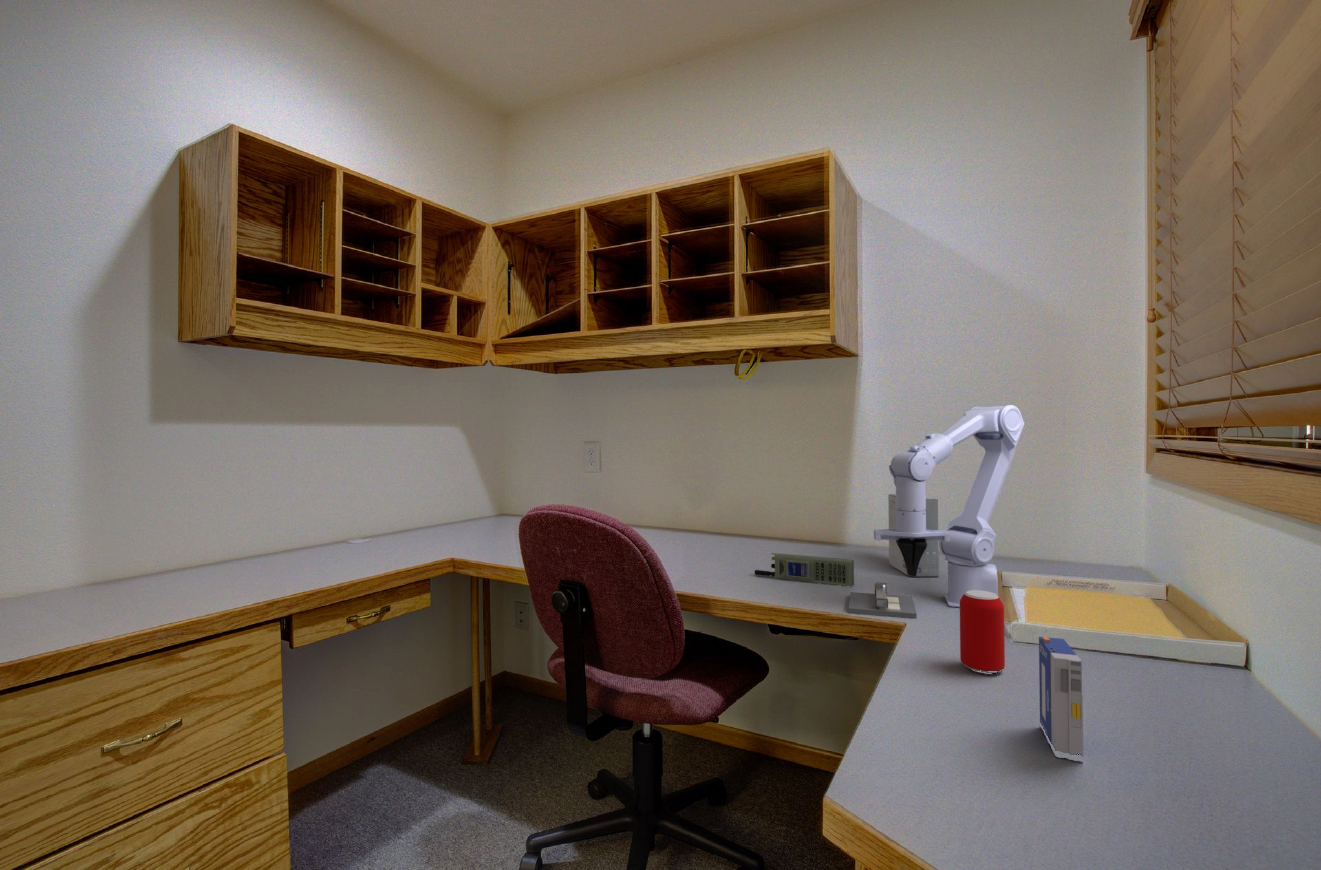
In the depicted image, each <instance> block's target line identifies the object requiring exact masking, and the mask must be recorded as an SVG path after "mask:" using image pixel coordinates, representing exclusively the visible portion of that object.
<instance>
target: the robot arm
mask: <svg viewBox="0 0 1321 870" xmlns="http://www.w3.org/2000/svg"><path fill="white" fill-rule="evenodd" d="M1024 426H1025V421H1024V419H1023V416H1022V413H1021V411H1020V409H1019V408H1018V407H1017V406H1015V405H1012V404H1007V405H997V406H996V405H995V406H974V407H972V408H971V409H969V410H967V411H965V412H964V415H963V417H962V418H961V419H959V420H958V421H956V422H955V423H954V424H953V425H952V426H951V427H949V428H948V429H947V430H945V431H944V432H942V433H938V432H936V433H935V432H934V433H927V434H926V435H925V436H924V437H925V439H923V440H922V441H920V442H919V443H917V444H916V445H915V444H913V445H911V446H910V447H909V448H910V449H908V451H906V452H905V451H900V452H898V453H897V454H895V455H894V456H893V457H892V459H891V461H890V464H889V465H888V468H889V469H888V470H889V472H890V475H891V476H892V478H893V484H894V486H895V494H896V529H889V528H887V529H886V528H885V529H874V530H873V539H874V540H875V541H883V540H884V541H889V540H896V542H897V545H898V547H899V549H900V551H901V553H902V556H903V558H904V561H905V565H906V569H907V574H908V575H909V576H908V575H907V576H908V577H911V576H916V574H917V569H918V565H919V562H920V560H921V557H922V555H923V553H924V551H925V550H926V548H927V542H926V540H931V541H938V548H939V550H940V552H941V553H942V555H944V557H945V558H944V560H945V561H947V586H948V587H947V590H948V591H947V592H948V593H947V594H944V598H945V600H946V601H945V602H946V604H947V605H948V606H949V607H953V608H960V599H961V598H962V596H963V595H964V593H965V592H967V591H970V590H981V591H988V592H992V593H995V594H996V595H998V596H999V590H998V589H999V585H998V584H999V582H998V569H997V566H996V565H995V564H993V563H989V562H990V561H992V559H993V556H994V553H995V542H996V538H997V533H995V531H994V529H993V528H992V527H991V525H990V524H989V523H990V521H991V518H992V516H993V513H994V510H995V507H996V505H997V503H998V501H999V500H998V499H999V496H1000V494H1001V493H1002V492H1001V491H1002V489H1003V486H1004V483H1005V480H1006V478H1007V475H1008V473H1009V470H1010V467H1011V465H1012V462H1013V460H1014V457H1015V454H1016V449H1017V445H1018V442H1019V440H1020V437H1021V434H1022V432H1023V429H1024ZM972 436H973V438H974V439H975V440H976V442H977V443H978V445H979V446H980V447H982V448H983V449H984V451H985V452H984V456H983V458H982V461H981V463H980V466H979V469H978V471H977V474H976V477H975V479H974V481H973V483H972V484H973V485H972V487H971V488H970V489H971V490H970V493H969V494H968V495H969V496H968V497H967V500H966V503H965V505H964V508H963V510H962V513H961V515H959V516H957V517H955V518H954V519H952V520H950V521H949V523H948V525H947V528H946V529H945V530H942V529H941V530H940V529H938V530H926V497H927V494H926V492H927V491H926V489H927V487H926V481H927V479H929V478H930V476H931V475H932V472H933V470H934V468H935V467H937V466H938V465H939V464H941V463H942V462H944V460H947V458H949V457H950V456H951V455H952V454H953V452H954V447H956V446H957V445H959V444H960V443H962V442H963V441H966V440H967V439H969V438H970V437H972ZM916 577H917V576H916Z"/></svg>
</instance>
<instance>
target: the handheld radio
mask: <svg viewBox="0 0 1321 870" xmlns="http://www.w3.org/2000/svg"><path fill="white" fill-rule="evenodd" d="M771 555H774V556H772V557H771V560H772V561H774V563H771V565H770V567H771V569H774V571H770V570H760V569H755V570H754V575H756V576H763V577H764V576H765V577H774V579H775V580H777V579H780V580H779V581H788V582H789V581H790V582H797V581H799V583H808V584H817V583H821V584H820V585H827V584H828V585H827V586H829V585H830V586H837V585H841V586H840V587H847V586H850V587H849V588H853V587H854V586H853V585H855V576H854V575H855V573H854V572H855V562H854V561H855V560H854V559H852V558H850V559H849V558H837V557H828V556H827V557H826V556H816V555H804V554H803V555H801V554H789V553H788V554H787V553H779V552H778V553H777V552H776V553H775V552H772V553H771ZM852 586H853V587H852Z"/></svg>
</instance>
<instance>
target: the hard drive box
mask: <svg viewBox="0 0 1321 870" xmlns="http://www.w3.org/2000/svg"><path fill="white" fill-rule="evenodd" d="M888 529H896V493H893V494H891V493H889V494H888ZM926 530H939V499H938V498H933V497H930V496H926ZM926 542H927V548H926V550H925V551H924V553H923V555H922V557H921V560H920V562H919V565H918V569H917V574H916V576H909V575H908V574H907V569H906V565H905V561H904V558H903V556H902V553H901V551H900V549H899V547H898V545H897V542H896V540H888V558H889V559H888V563H889V565H890V566H892V567H893V568H895V569H896V570H899V571H900V572H902V573H903V574H905V575H906V576H908V577H914V578H916V577H939V576H940V570H939V569H940V568H939V567H940V565H939V564H940V563H939V562H940V560H939V559H940V557H939V550H940V547H939V541H931V540H926Z"/></svg>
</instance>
